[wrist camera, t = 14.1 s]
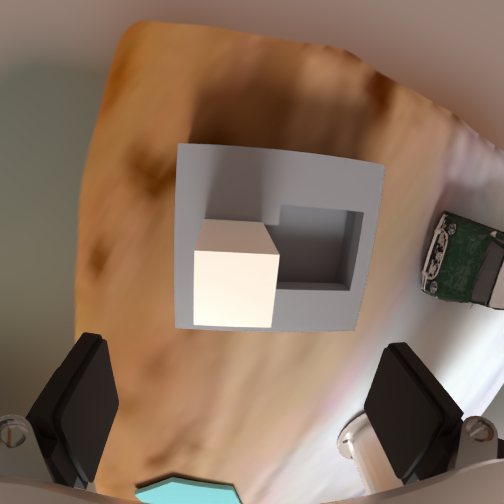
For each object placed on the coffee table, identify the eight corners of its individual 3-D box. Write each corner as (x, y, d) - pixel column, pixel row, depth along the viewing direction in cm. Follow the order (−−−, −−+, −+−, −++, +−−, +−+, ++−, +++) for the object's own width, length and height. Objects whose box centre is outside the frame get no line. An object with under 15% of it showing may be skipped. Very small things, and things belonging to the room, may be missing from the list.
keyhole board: (357, 161, 27) (385, 164, 21) (335, 302, 31) (354, 330, 26) (187, 144, 25) (178, 143, 20) (183, 297, 29) (175, 328, 24)
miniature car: (430, 205, 29) (480, 223, 21) (516, 236, 31) (557, 255, 24) (406, 285, 31) (447, 319, 24) (497, 297, 34) (533, 322, 26)
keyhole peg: (263, 204, 26) (291, 245, 15) (257, 262, 27) (279, 335, 16) (201, 201, 25) (184, 239, 14) (199, 259, 27) (184, 332, 16)
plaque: (260, 483, 43) (142, 464, 38) (262, 492, 41) (141, 474, 36) (227, 517, 47) (130, 502, 43) (228, 525, 45) (129, 510, 41)
